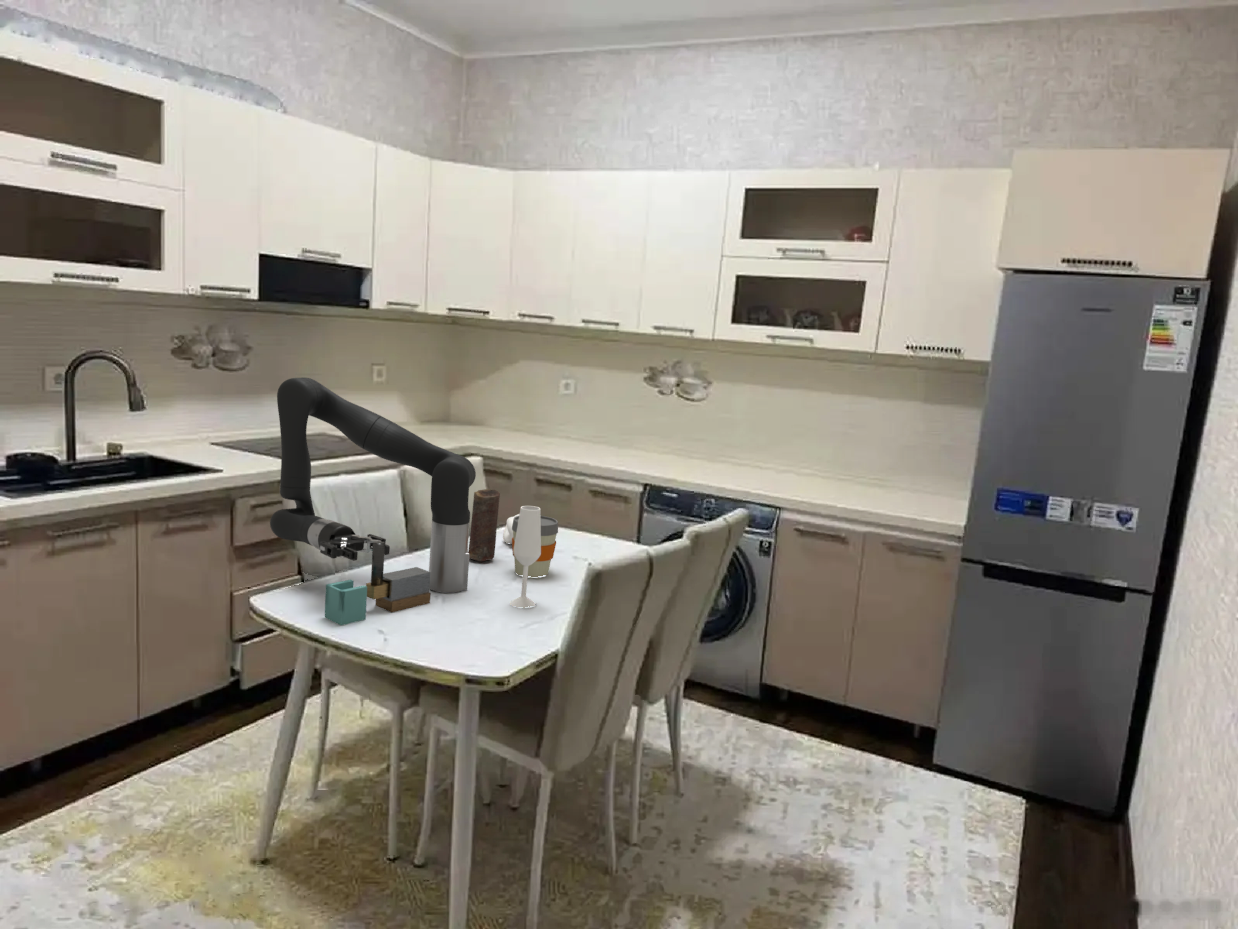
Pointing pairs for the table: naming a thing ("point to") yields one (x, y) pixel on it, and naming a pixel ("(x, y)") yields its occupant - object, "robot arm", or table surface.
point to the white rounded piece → (509, 530)
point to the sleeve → (406, 589)
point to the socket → (345, 602)
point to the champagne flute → (527, 547)
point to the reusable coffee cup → (547, 547)
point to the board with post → (378, 573)
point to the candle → (484, 525)
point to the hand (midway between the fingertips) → (372, 553)
